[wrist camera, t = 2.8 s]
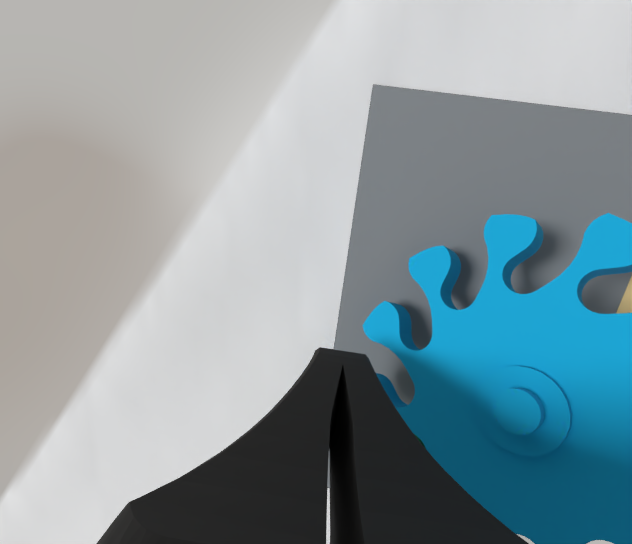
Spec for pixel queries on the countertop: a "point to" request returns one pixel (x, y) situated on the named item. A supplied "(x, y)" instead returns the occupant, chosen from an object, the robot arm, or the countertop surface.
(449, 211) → the mat
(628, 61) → the countertop surface
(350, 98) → the countertop surface
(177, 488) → the robot arm
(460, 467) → the gear
